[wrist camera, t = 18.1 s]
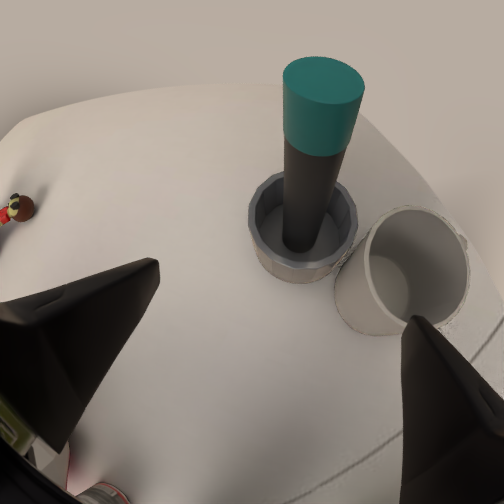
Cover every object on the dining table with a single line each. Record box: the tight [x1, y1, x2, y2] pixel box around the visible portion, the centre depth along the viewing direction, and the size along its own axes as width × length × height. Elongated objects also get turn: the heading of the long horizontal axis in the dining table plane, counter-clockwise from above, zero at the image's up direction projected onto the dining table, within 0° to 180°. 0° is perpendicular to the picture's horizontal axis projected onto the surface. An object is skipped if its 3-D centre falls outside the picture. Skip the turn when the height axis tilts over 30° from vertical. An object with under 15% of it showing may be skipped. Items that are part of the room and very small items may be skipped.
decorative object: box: [31, 438, 70, 490], centre depth 13 cm, size 15×15×15 cm
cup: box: [334, 205, 470, 336], centre depth 18 cm, size 7×10×9 cm
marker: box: [282, 57, 365, 253], centre depth 16 cm, size 3×3×16 cm
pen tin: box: [248, 171, 358, 284], centre depth 22 cm, size 8×8×5 cm
